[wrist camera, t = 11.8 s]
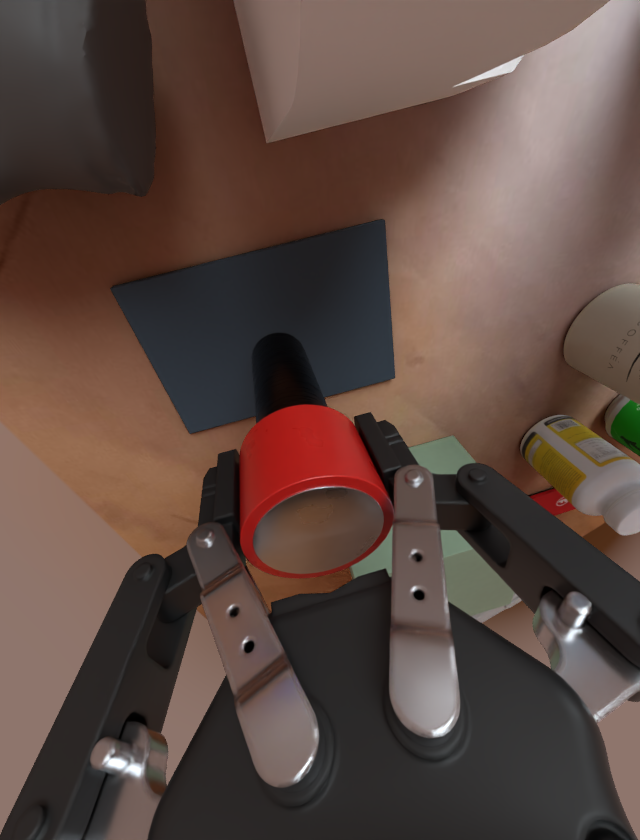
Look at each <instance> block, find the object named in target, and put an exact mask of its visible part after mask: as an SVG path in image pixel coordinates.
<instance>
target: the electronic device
mask: <svg viewBox="0 0 640 840" xmlns="http://www.w3.org/2000/svg"><path fill="white" fill-rule="evenodd" d="M529 497H530V498H532V499H533V500H534V501H536V502H537V503H538V504H539V505H541V506H542V507H543V508H545V509H546V510H547V511H549V512H550V513H551V514H552V515H554V516H555V515H558V514H561V513H564V512H567V511H570V510H573V509H576V508H575V507H574V506H573V505H572V504H571V503H570V502H569V501H568V500H567V499H566V498H565V497H564V496H563V495H561V494H560V493H559V492H558V491H557V490H556V489H555V488H553V489H550V490H547V491H544V492H541V493H538V494H535V495H531V496H529Z"/></svg>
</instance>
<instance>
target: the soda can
mask: <svg viewBox="0 0 640 840" xmlns="http://www.w3.org/2000/svg"><path fill="white" fill-rule="evenodd" d="M605 422H606V427H605V429H606V431H607V433H608V435H609V436H611V437H612V438H614V439H615V440H617V441H618V442H619V443H621V444H622V445H624V446H625V447H627V448H628V449H630V450H631V451H633V452H634V453H636V454H637V455H639V456H640V405H639V404H638V403H636V402H634V401H632V400H630V399H629V398H627V397H625V396H623V395H621V394H620V395H619V396H618V397H617V398H615V399H614V400H613V402H612V403H611V404H610V406H609V407H608V409H607V411H606V413H605Z"/></svg>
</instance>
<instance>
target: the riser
mask: <svg viewBox="0 0 640 840" xmlns="http://www.w3.org/2000/svg"><path fill="white" fill-rule="evenodd" d="M409 450H410V451H411V453H412V454H413V456H414V458H415V459H416V461H417V462H418V464H419V465H420V466H423V467H425V468H427V469H428V470H429V471H430V472H431V473H435V474H457V471H458V470H459V468H460V467H462V466H463V465H466V464H469V463H476V462H475V460H474V459H473V458H472V457H471V456H470V455H469V453H468V452H467V451H466V450H465V449H464V447H463V446H462V445H461V444H460V443H459V442H458V440H457V439H456V438H455V437H454V436H453V435H452V436H449V437H445V438H442V439H438V440H435V441H431V442H427V443H424V444H420V445H417V446H413V447H410V448H409ZM440 532H441V541H442V550H443V559H444V568H445V577H446V586H447V595H448V601H449V602H450V603H452V604H453V605H455V606H456V607H458V608H459V609H461V610H462V611H464V612H465V613H467V614H468V615H470V616H472V615H476V614H479V613H482V612H485V611H489V610H492V609H495V608H498V607H502V606H505V605H508V604H511V601H512V598H513V595H514V591H513V590H512V589H511V588H510V587H509V586H508V585H507V584H506V583H505V582H504V581H503V580H502V579H501V578H500V576H499V575H498V574H497V573H496V572H495V571H494V570H493V569H492V568H491V567H490V566H489V565H488V564H487V563H486V562H485V560H484V559H483V558H482V557H481V556H480V555H479V554H478V553H477V552H476V551H475V550H474V549H473V548H472V547H471V546H470V545H469V543H468V542H467V541H466V540H465V539H464V538H463V537H462V536H461V535H460V534H459V533H458V532H457V531H456V530H440ZM385 568H386V569H387V572H388V575H389V577H392V527H391V530H390V532H389V534H388V536H387V537H386V539H385V540H384V541H383V543H382V544H381V545H380V546H379V547H378V548H377V549H376V550H375V551H374V552H372V553H371V554H370V555H369V556H367V557H366V558H364V559H363V560H361V561H360V562H358V563H356V564H354V565H352V566H350V567H349V569H350V572H351V576H352V579H355V578H356V577H358V576H361V575H364V574H368V573H371V572H375V571H378V570H381V569H385Z"/></svg>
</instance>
